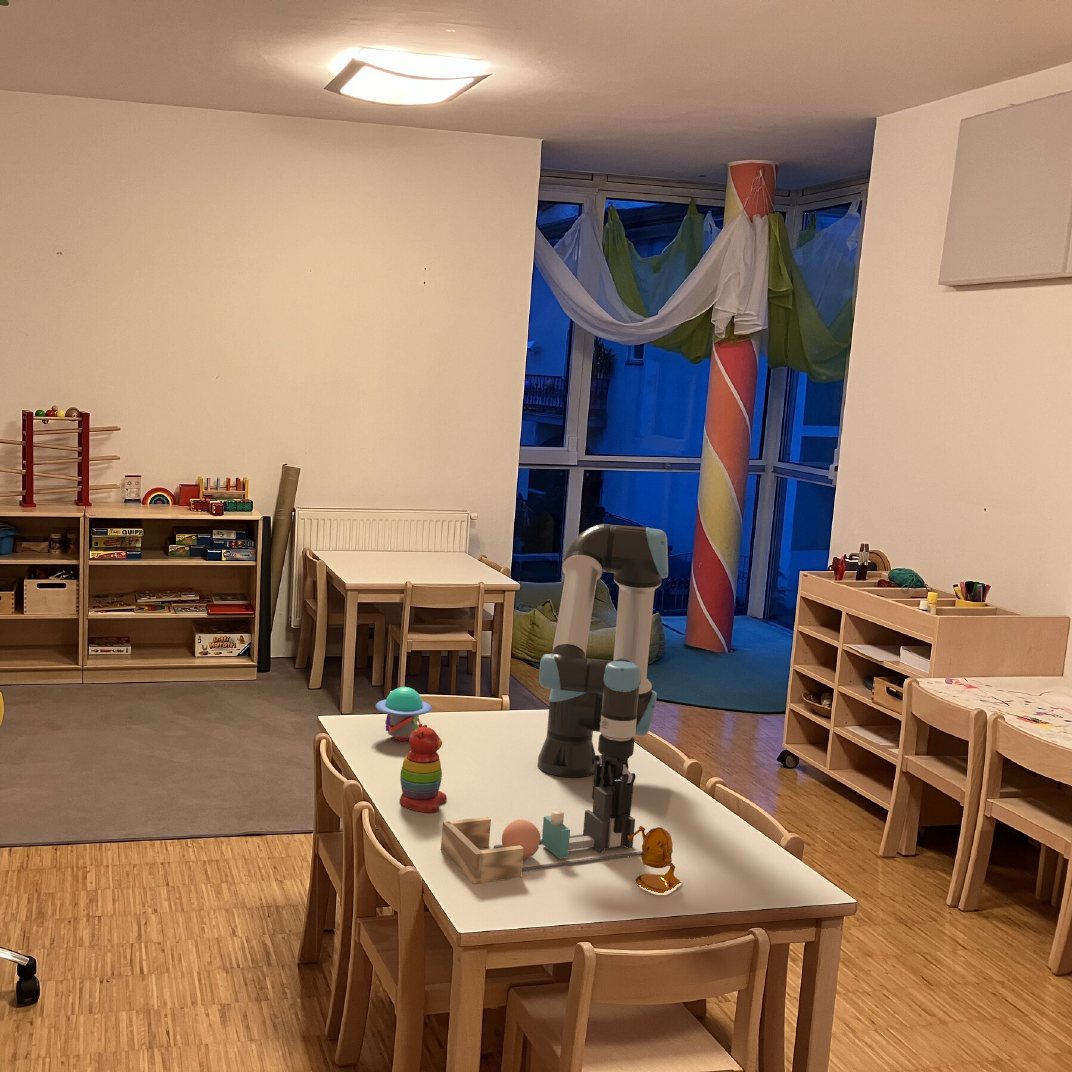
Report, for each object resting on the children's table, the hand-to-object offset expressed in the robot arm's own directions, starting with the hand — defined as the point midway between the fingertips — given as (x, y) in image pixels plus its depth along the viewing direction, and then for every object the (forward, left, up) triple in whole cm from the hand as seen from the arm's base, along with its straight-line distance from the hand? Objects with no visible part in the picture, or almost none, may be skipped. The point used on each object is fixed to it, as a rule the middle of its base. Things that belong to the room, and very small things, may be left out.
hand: (607, 840), depth 246 cm
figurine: (0, +20, -1) cm, 20 cm away
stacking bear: (+29, -34, -1) cm, 45 cm away
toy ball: (+21, 0, -1) cm, 21 cm away
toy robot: (+17, -79, -1) cm, 81 cm away
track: (+9, 0, -1) cm, 9 cm away
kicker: (+4, 0, -1) cm, 4 cm away
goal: (+29, 0, -1) cm, 29 cm away
